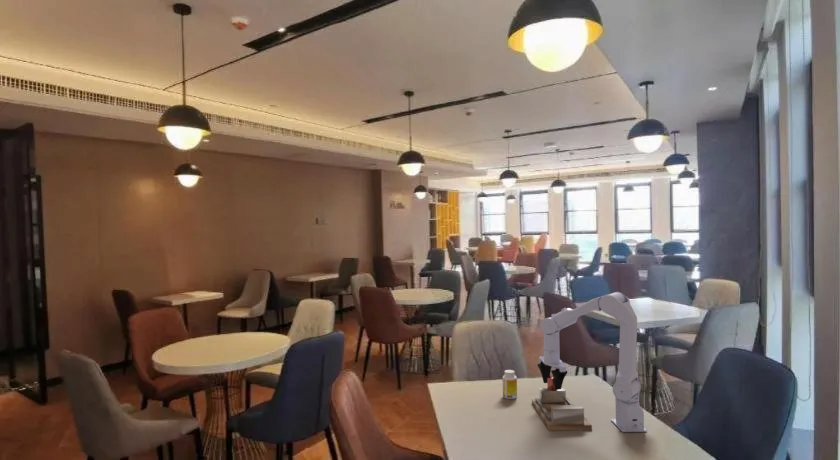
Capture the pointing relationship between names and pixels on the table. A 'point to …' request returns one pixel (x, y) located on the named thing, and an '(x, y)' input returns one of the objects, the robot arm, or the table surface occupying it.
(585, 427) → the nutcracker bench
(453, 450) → the table surface
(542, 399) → the sliding jaw
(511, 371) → the supplement bottle
